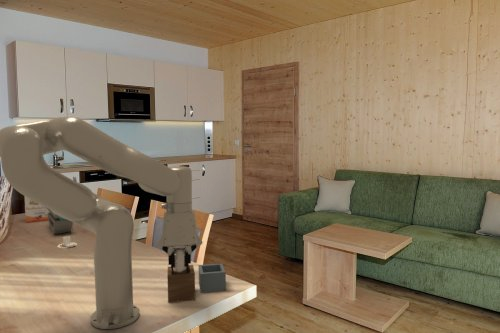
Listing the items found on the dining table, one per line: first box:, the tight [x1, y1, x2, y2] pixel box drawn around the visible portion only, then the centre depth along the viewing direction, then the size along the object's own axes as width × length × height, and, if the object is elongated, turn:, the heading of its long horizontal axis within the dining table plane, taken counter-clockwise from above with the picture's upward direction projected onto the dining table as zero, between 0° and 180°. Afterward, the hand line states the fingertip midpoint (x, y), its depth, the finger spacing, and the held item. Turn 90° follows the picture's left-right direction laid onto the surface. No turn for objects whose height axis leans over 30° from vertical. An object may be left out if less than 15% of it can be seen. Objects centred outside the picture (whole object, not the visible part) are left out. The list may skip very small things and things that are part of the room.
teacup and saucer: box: [57, 235, 78, 249], centre depth 168 cm, size 9×8×4 cm
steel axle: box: [172, 246, 187, 274], centre depth 117 cm, size 4×4×14 cm
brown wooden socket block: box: [167, 264, 196, 303], centre depth 117 cm, size 8×8×8 cm
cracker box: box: [23, 195, 50, 223], centre depth 213 cm, size 14×6×21 cm, turn 119°
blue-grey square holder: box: [198, 263, 227, 293], centre depth 124 cm, size 8×8×6 cm
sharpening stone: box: [47, 208, 74, 235], centre depth 192 cm, size 25×8×11 cm, turn 35°
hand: (179, 265), depth 116 cm, fingers closed on steel axle, 4 cm apart
